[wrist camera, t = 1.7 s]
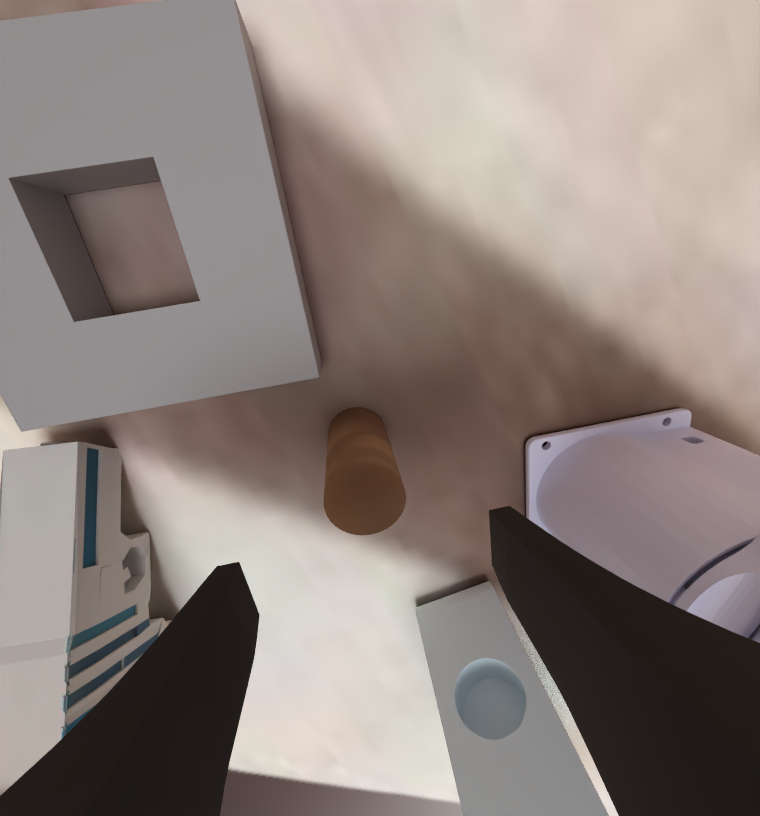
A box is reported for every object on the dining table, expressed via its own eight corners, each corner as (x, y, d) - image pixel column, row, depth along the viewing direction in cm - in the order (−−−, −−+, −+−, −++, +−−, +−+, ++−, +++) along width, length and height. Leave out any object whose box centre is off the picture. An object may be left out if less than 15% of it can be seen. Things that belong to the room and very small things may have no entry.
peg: (380, 402, 18) (399, 457, 13) (389, 454, 19) (410, 526, 14) (322, 413, 18) (315, 473, 12) (334, 464, 19) (333, 542, 13)
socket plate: (251, 44, 13) (232, -9, 11) (321, 364, 17) (319, 377, 15) (-96, 90, 12) (-199, 45, 10) (66, 410, 16) (21, 431, 14)
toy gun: (138, 707, 21) (-58, 900, 11) (140, 461, 24) (-13, 445, 14) (191, 698, 21) (44, 879, 11) (186, 456, 24) (67, 435, 14)
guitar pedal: (553, 755, 31) (696, 1069, 19) (491, 777, 31) (592, 1105, 19) (496, 565, 23) (684, 903, 10) (412, 596, 23) (499, 968, 11)
